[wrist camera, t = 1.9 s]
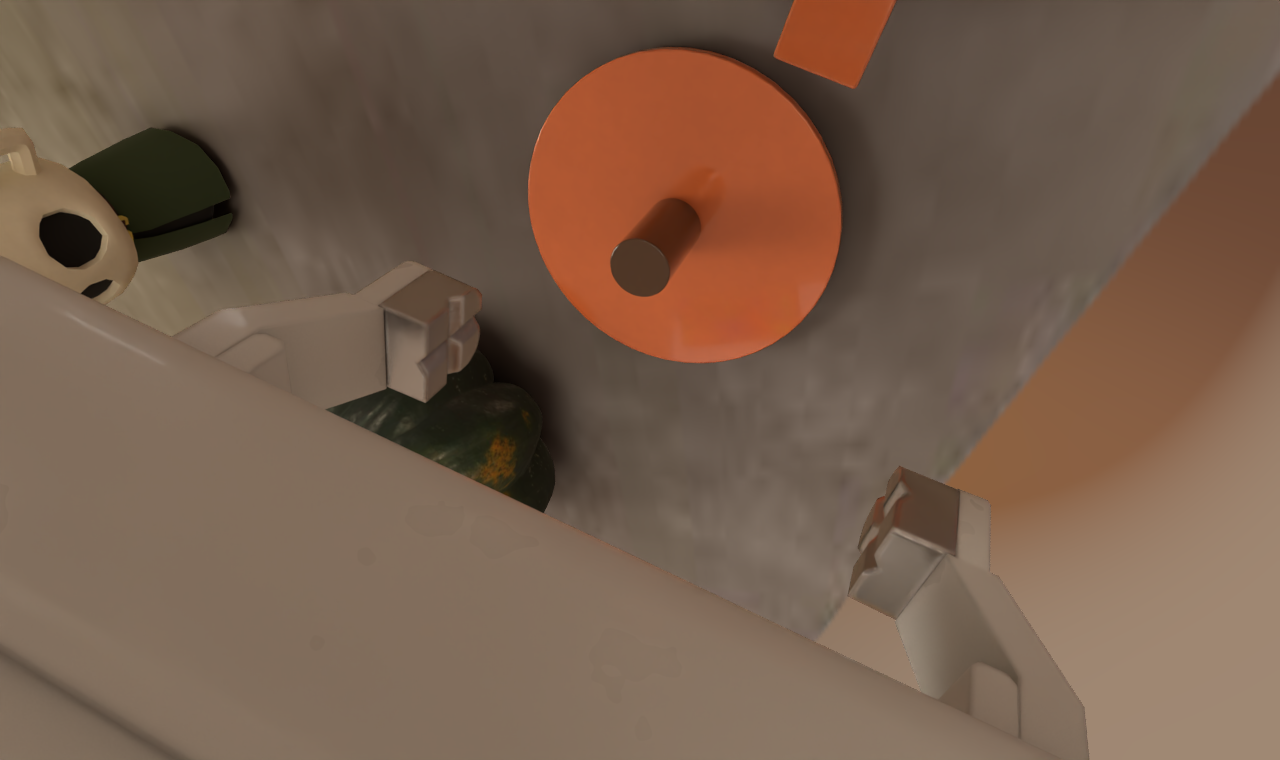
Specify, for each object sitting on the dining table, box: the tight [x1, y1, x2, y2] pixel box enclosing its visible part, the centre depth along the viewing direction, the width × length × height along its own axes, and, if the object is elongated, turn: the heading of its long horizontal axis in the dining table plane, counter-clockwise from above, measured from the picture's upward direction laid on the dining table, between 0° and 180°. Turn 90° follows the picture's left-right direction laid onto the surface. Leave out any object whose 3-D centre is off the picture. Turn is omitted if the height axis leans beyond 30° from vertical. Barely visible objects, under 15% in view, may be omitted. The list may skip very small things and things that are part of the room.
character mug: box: [0, 128, 233, 305], centre depth 35 cm, size 11×7×13 cm, turn 165°
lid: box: [528, 47, 843, 363], centre depth 29 cm, size 14×14×6 cm
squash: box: [325, 349, 555, 513], centre depth 38 cm, size 14×15×15 cm
